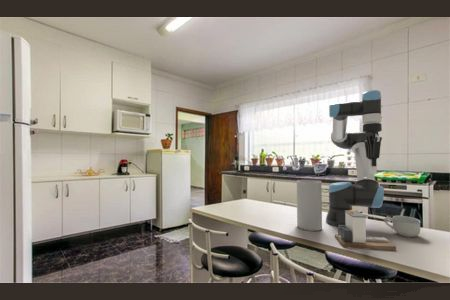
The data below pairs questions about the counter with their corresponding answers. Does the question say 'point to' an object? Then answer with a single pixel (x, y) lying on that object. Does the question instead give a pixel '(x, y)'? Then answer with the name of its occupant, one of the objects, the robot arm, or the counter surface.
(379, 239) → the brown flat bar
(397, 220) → the teacup
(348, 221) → the white rectangular container
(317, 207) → the cylinder vase
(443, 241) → the counter surface
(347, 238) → the end clamp
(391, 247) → the board
